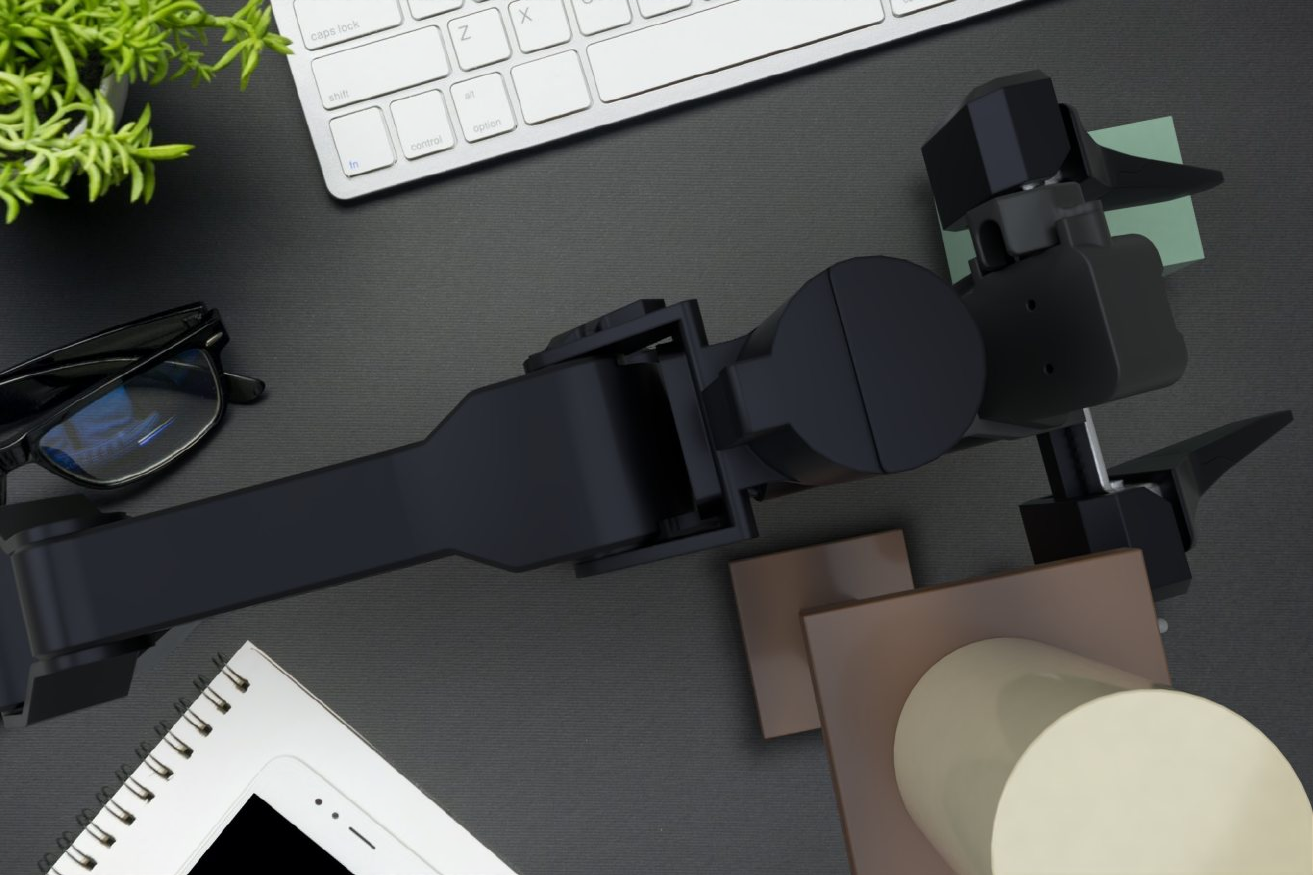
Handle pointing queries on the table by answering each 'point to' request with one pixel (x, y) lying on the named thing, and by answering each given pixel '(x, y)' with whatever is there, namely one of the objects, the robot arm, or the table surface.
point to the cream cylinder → (1090, 772)
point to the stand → (911, 656)
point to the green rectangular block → (1158, 222)
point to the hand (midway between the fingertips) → (1251, 296)
